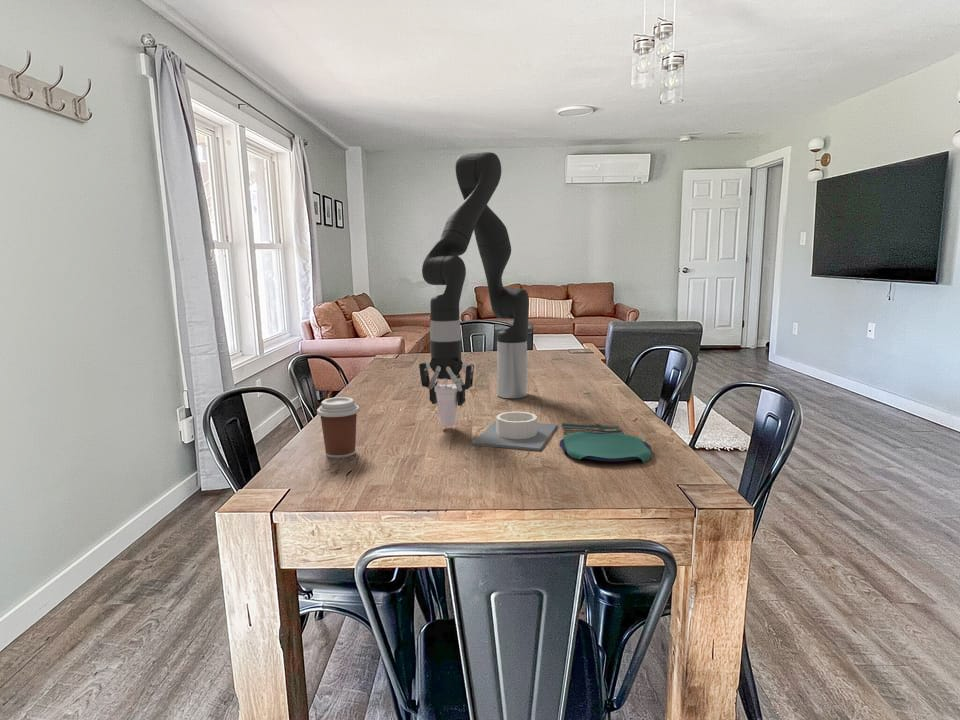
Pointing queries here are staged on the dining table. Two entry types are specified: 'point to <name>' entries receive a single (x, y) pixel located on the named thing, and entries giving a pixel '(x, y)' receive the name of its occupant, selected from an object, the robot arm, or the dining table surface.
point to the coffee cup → (339, 426)
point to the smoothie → (447, 403)
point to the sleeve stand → (516, 432)
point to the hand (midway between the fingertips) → (447, 404)
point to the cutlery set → (603, 444)
